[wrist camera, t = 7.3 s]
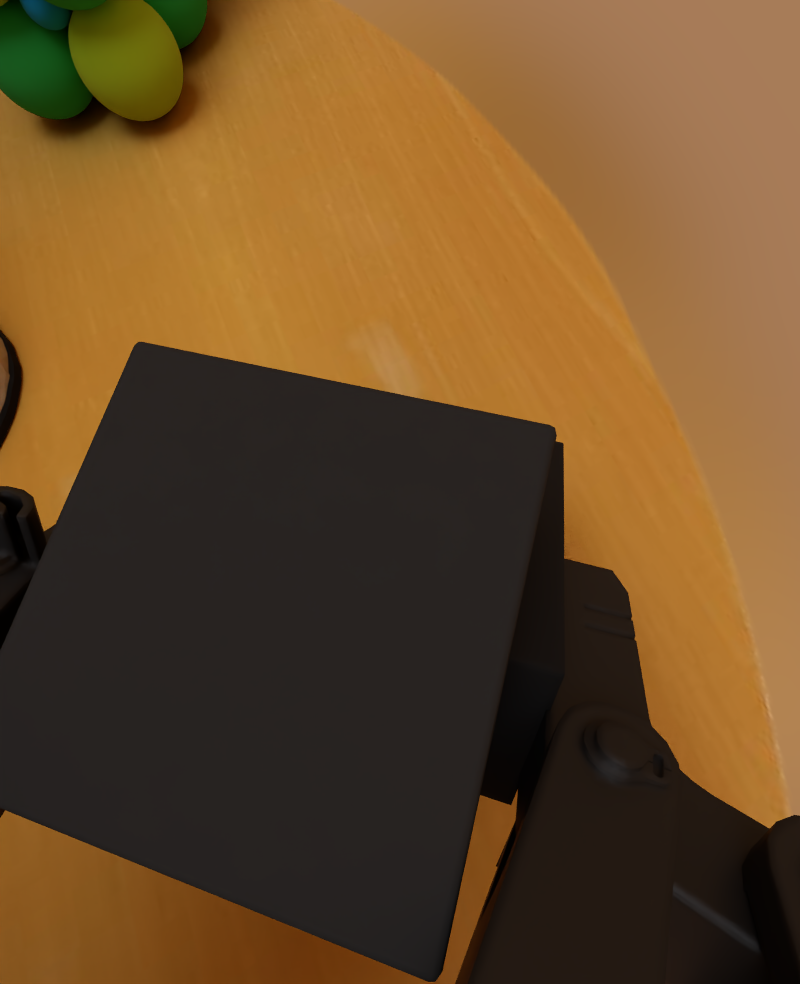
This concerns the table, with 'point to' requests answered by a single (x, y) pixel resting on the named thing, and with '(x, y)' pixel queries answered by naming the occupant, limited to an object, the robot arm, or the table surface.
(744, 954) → the robot arm
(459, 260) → the table surface
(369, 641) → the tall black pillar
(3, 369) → the figurine
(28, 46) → the molecule model
